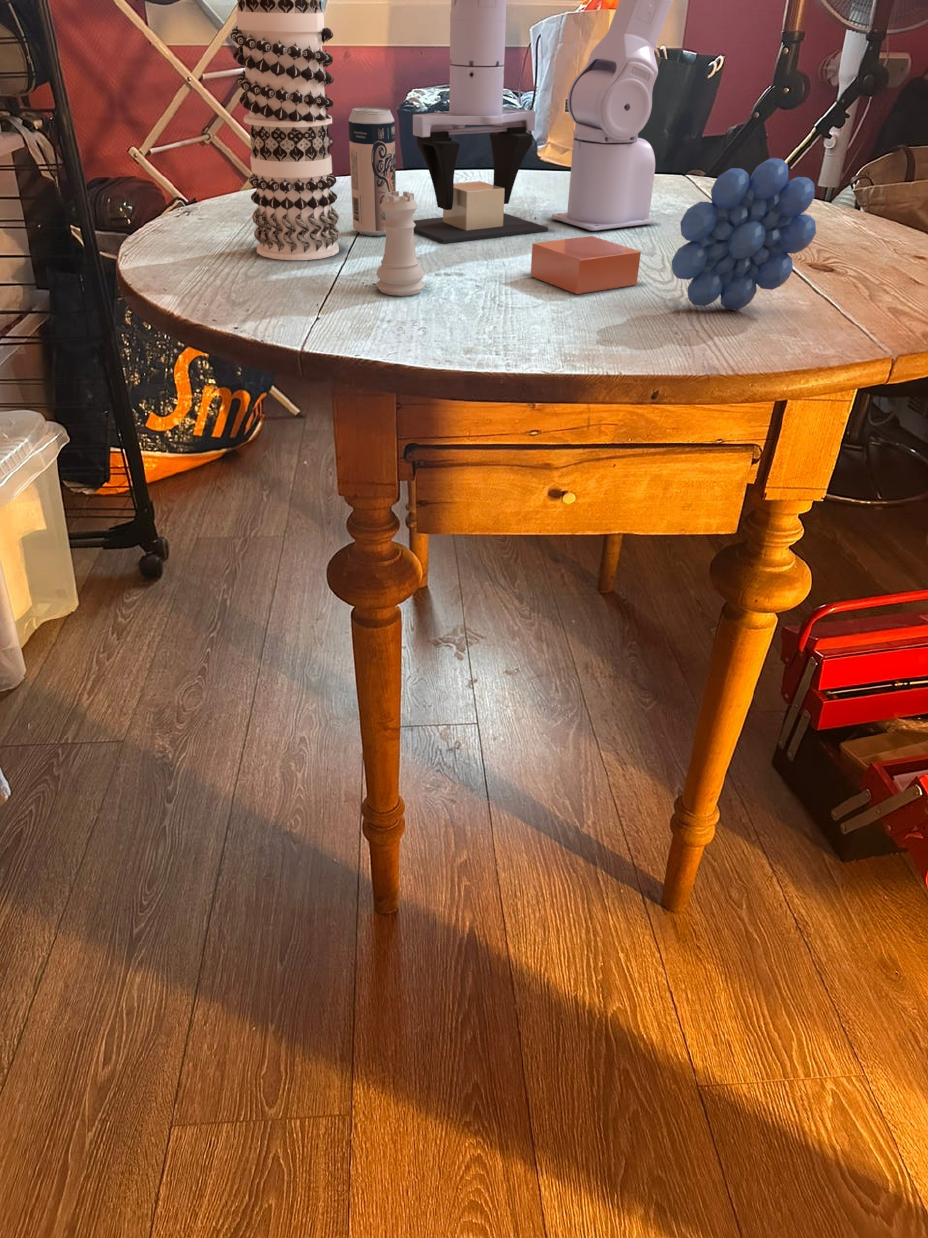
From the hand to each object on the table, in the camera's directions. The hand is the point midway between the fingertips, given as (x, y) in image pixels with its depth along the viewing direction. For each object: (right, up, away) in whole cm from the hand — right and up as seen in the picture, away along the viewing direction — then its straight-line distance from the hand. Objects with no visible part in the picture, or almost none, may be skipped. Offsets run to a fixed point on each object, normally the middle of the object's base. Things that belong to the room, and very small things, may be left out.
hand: (473, 205), depth 104 cm
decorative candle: (-18, -9, -9) cm, 22 cm away
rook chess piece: (-7, -17, -21) cm, 28 cm away
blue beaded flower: (+22, -19, -23) cm, 37 cm away
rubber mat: (0, -2, +1) cm, 2 cm away
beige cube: (0, -2, +1) cm, 2 cm away
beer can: (-11, -4, -1) cm, 12 cm away
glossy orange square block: (+10, -15, -17) cm, 24 cm away
